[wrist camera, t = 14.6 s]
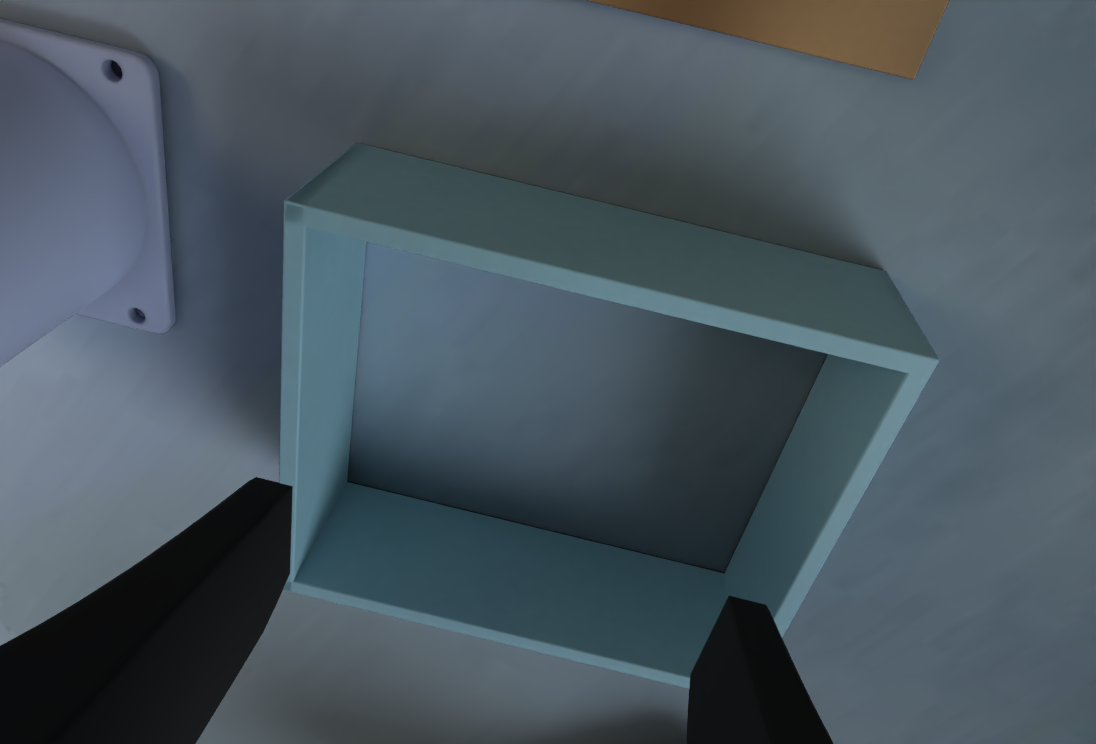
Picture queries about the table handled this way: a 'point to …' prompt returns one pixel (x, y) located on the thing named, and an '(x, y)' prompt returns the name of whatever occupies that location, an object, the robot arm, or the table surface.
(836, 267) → the container
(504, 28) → the table surface
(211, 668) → the robot arm
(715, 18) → the coaster
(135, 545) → the table surface
